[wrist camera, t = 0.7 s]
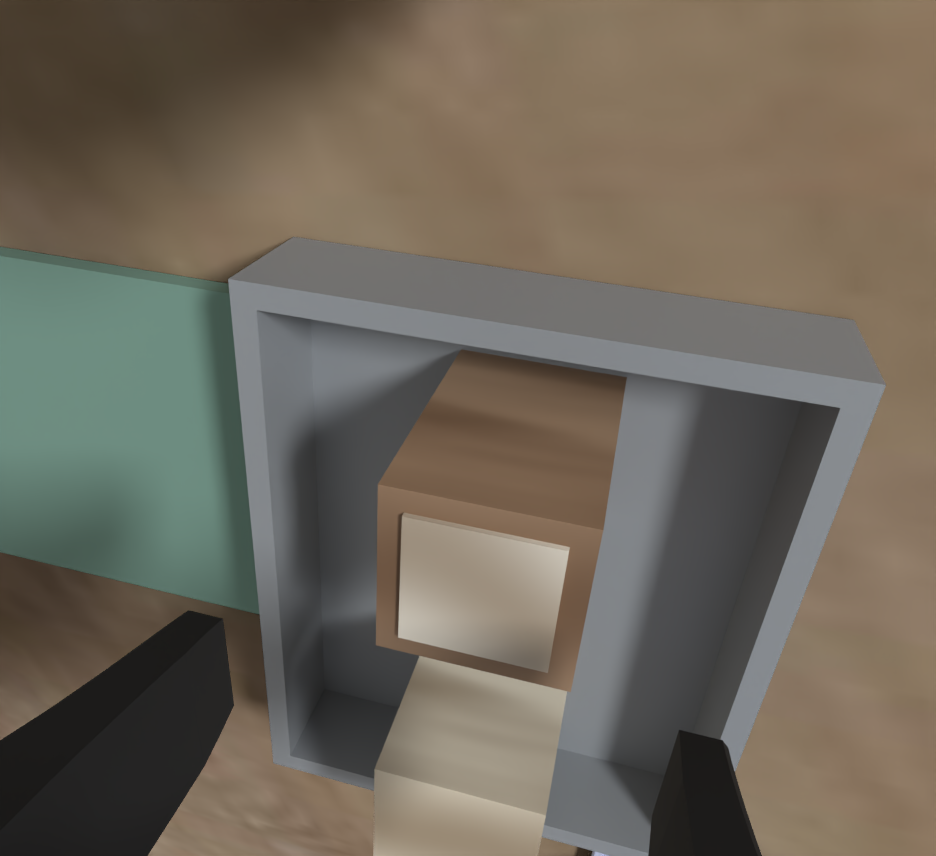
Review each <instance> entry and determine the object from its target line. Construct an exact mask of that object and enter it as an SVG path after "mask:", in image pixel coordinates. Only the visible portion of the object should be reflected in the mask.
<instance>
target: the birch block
mask: <svg viewBox="0 0 936 856" xmlns="http://www.w3.org/2000/svg"><path fill="white" fill-rule="evenodd" d="M566 695H567V691H564V690H559V689H555V688H551V687H547V686H543V685H539V684H534V683H530V682H526V681H522V680H518V679H514V678H510V677H505V676H501V675H497V674H493V673H489V672H485V671H481V670H476V669H472V668H468V667H464V666H460V665H456V664H451V663H447V662H443V661H439V660H435V659H431V658H427V657H422V656H419V659H418V661H417V664H416V666H415V669H414V671H413V674H412V676H411V679H410V681H409V684H408V686H407V689H406V691H405V694H404V696H403V699H402V701H401V704H400V706H399V709H398V711H397V714H396V716H395V719H394V721H393V724H392V726H391V729H390V731H389V734H388V737H387V739H386V742H385V744H384V747H383V749H382V752H381V754H380V757H379V759H378V762H377V764H376V767H375V769H374V855H373V856H538V852H539V848H540V843H541V838H542V833H543V828H544V823H545V818H546V812H547V806H548V800H549V795H550V789H551V783H552V777H553V771H554V765H555V759H556V753H557V748H558V742H559V736H560V730H561V724H562V718H563V712H564V706H565V701H566Z"/></svg>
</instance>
